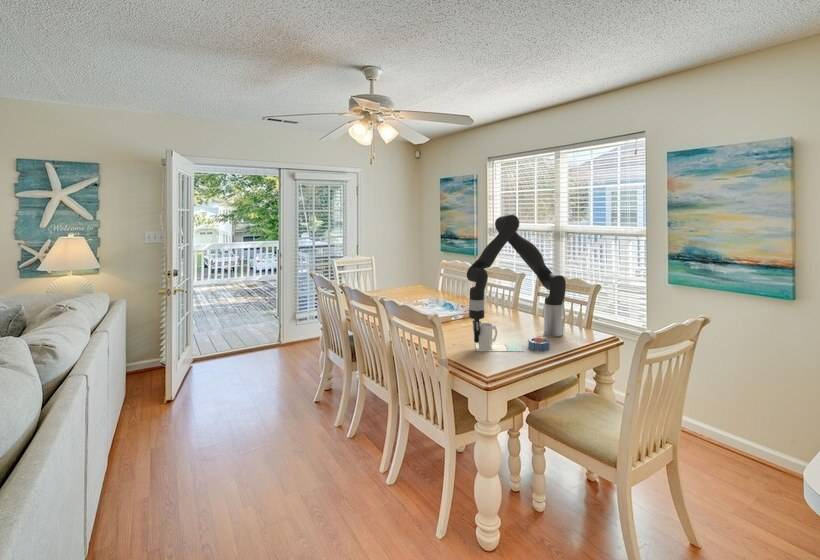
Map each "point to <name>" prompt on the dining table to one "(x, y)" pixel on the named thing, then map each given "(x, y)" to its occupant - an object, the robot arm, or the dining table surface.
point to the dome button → (539, 340)
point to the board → (502, 348)
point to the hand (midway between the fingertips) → (476, 342)
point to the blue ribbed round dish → (538, 345)
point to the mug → (486, 336)
